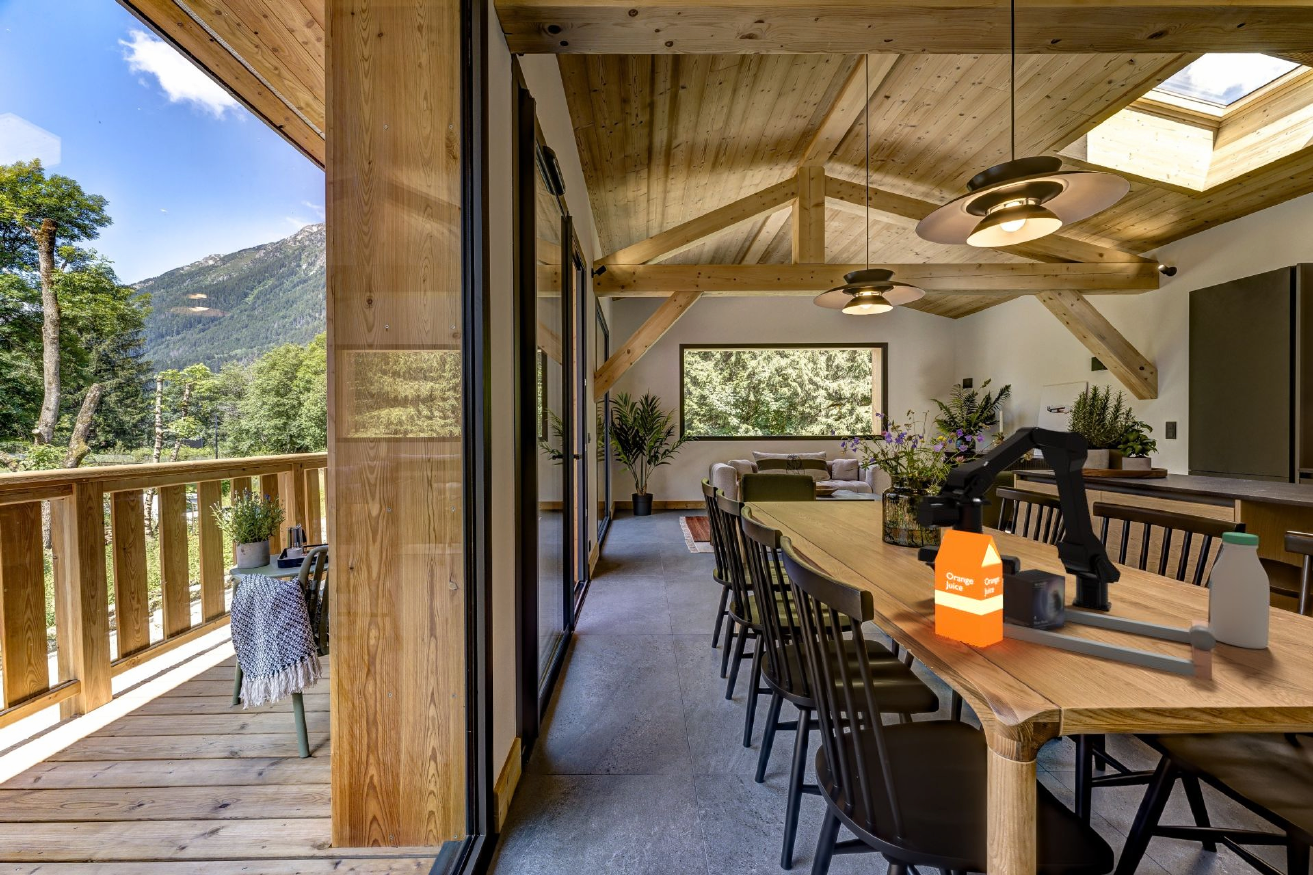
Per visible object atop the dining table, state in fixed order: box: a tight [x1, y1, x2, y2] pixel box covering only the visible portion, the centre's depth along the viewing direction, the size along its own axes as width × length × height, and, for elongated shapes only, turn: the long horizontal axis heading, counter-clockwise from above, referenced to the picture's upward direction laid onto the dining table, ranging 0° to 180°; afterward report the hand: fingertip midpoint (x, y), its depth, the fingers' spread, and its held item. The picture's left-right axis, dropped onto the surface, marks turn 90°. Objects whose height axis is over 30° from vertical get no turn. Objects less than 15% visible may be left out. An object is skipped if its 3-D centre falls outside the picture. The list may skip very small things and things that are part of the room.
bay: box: [1003, 607, 1217, 681], centre depth 104 cm, size 21×30×7 cm
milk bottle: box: [1207, 531, 1271, 650], centre depth 102 cm, size 8×8×20 cm
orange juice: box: [934, 529, 1004, 648], centre depth 106 cm, size 8×9×20 cm
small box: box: [1002, 568, 1066, 632], centre depth 111 cm, size 11×6×10 cm, turn 114°
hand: (967, 598), depth 119 cm, fingers open, 8 cm apart
